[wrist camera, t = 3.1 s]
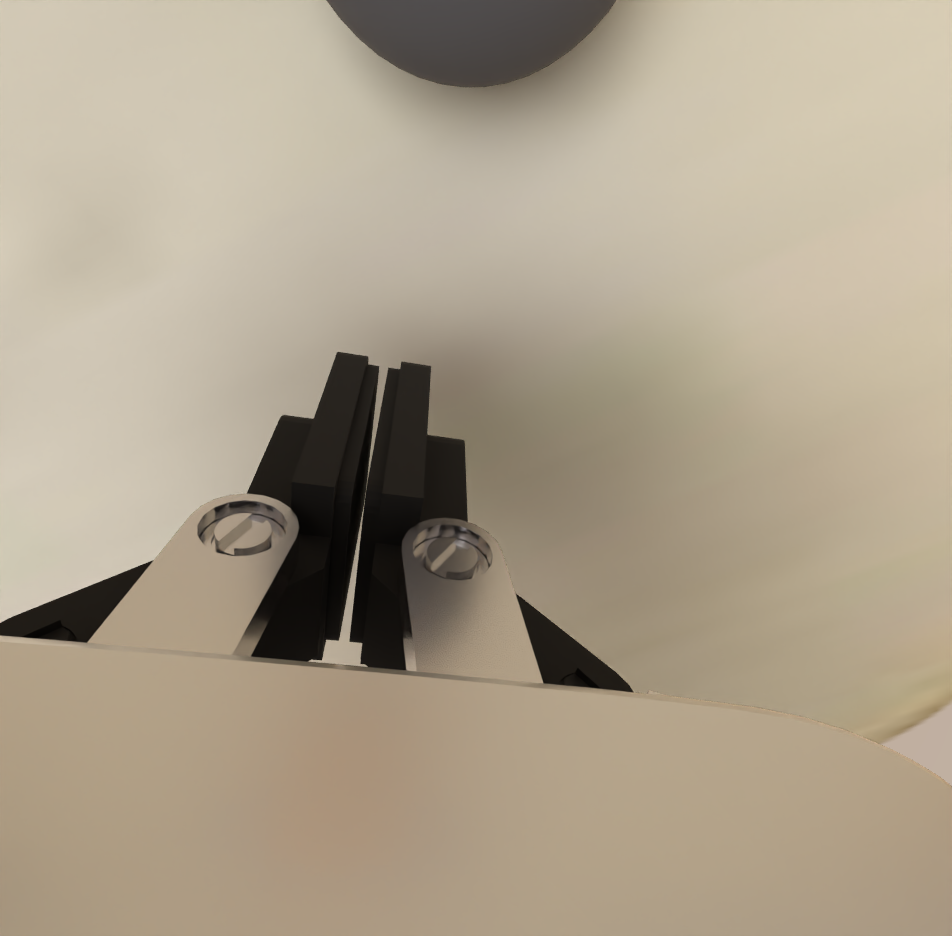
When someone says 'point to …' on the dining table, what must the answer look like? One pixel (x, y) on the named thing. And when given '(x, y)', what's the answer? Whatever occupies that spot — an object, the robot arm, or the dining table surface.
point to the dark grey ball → (471, 35)
